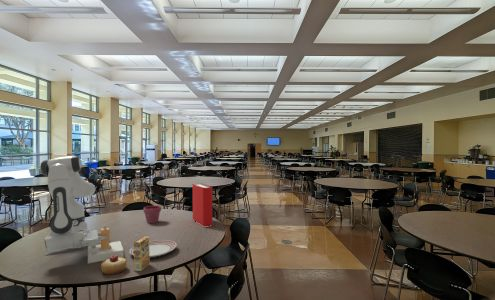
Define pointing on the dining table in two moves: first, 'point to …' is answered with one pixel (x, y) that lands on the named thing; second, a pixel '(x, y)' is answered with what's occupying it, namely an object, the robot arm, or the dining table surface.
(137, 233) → the dining table surface
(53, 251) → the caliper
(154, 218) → the plant pot
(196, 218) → the book
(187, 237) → the dining table surface
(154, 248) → the dinner plate
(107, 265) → the pastry
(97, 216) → the dining table surface
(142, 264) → the candy box
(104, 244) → the block
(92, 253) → the housing
